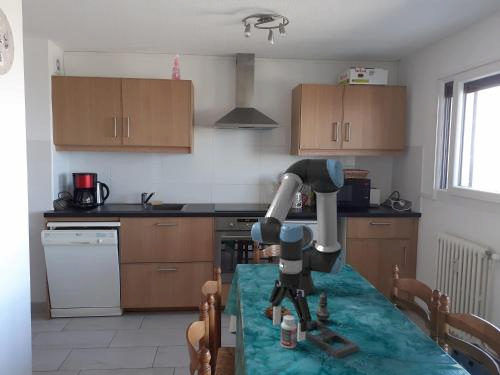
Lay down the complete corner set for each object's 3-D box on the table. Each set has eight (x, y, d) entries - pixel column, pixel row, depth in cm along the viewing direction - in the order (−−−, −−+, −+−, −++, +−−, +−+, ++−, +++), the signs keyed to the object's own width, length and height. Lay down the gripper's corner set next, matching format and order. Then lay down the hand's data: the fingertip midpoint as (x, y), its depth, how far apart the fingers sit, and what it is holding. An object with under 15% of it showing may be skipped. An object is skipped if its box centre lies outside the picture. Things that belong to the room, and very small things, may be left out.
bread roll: (260, 318, 149) (261, 305, 149) (268, 311, 160) (270, 299, 160) (287, 324, 145) (289, 311, 146) (294, 317, 156) (295, 305, 156)
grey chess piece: (321, 326, 144) (322, 295, 143) (311, 319, 149) (312, 290, 148) (333, 323, 147) (334, 293, 146) (323, 317, 152) (324, 288, 151)
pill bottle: (293, 350, 125) (294, 321, 125) (278, 347, 127) (279, 319, 127) (297, 342, 130) (298, 315, 130) (283, 339, 132) (283, 312, 132)
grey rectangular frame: (293, 331, 139) (294, 326, 139) (314, 325, 144) (314, 320, 144) (336, 359, 120) (337, 353, 120) (358, 351, 126) (359, 345, 126)
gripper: (260, 263, 135) (259, 320, 137) (306, 283, 114) (303, 350, 116) (277, 260, 139) (275, 316, 141) (324, 279, 118) (321, 344, 120)
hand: (288, 332), depth 128 cm, fingers open, 13 cm apart
